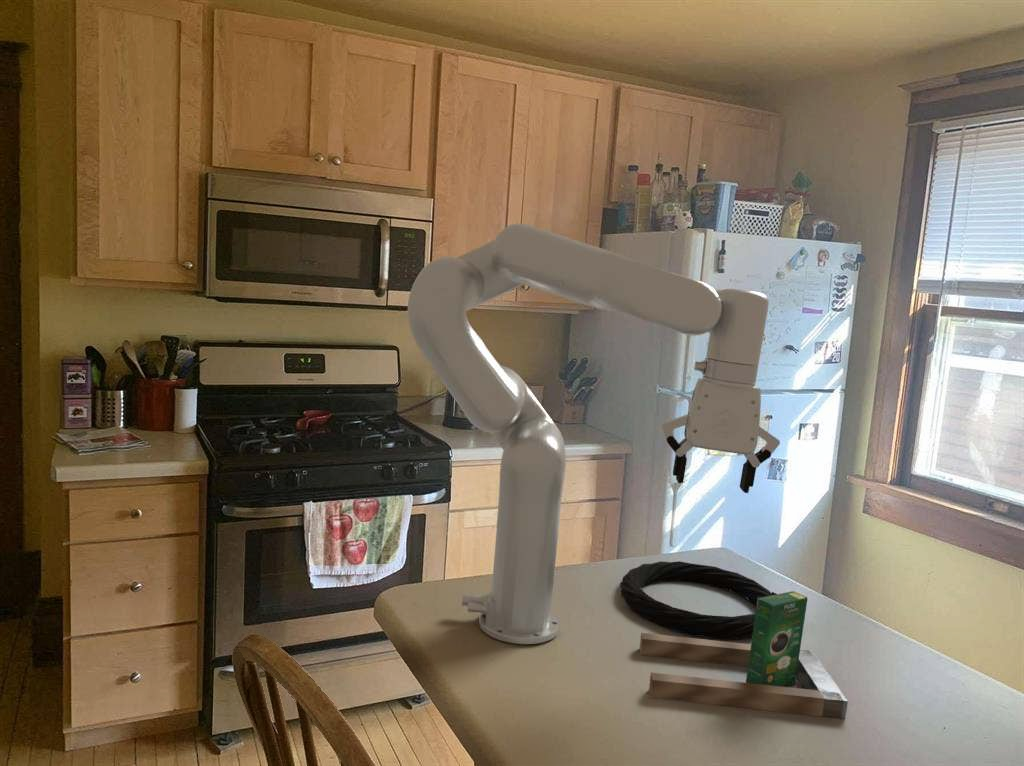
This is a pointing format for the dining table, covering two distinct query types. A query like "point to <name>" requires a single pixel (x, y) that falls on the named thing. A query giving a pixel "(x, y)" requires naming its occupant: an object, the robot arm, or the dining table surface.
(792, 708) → the frame
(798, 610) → the coffee box
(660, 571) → the cable lock
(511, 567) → the robot arm
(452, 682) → the dining table surface
